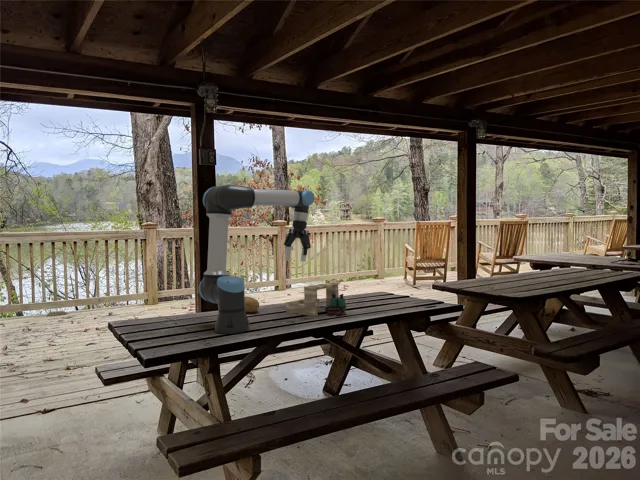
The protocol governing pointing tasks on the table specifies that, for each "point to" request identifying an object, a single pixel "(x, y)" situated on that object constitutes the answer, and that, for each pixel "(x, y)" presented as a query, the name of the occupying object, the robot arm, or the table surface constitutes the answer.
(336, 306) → the binoculars
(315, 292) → the tunnel
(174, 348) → the table surface
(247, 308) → the potato
